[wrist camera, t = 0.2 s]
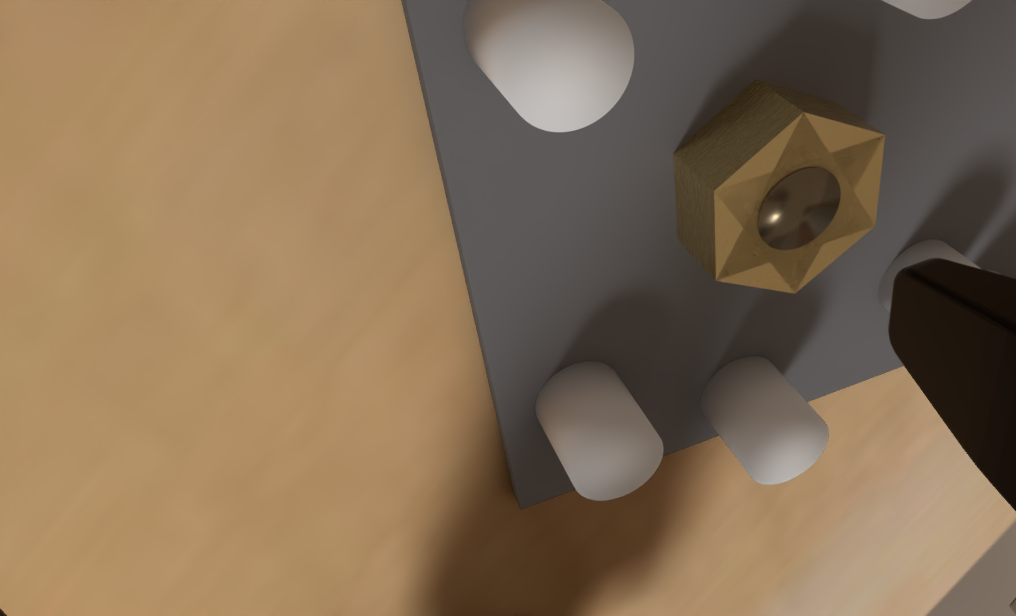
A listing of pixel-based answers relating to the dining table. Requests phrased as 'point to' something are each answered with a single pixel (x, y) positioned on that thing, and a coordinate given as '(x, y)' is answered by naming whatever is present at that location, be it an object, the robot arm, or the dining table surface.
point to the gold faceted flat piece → (776, 187)
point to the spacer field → (653, 222)
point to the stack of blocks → (1013, 605)
